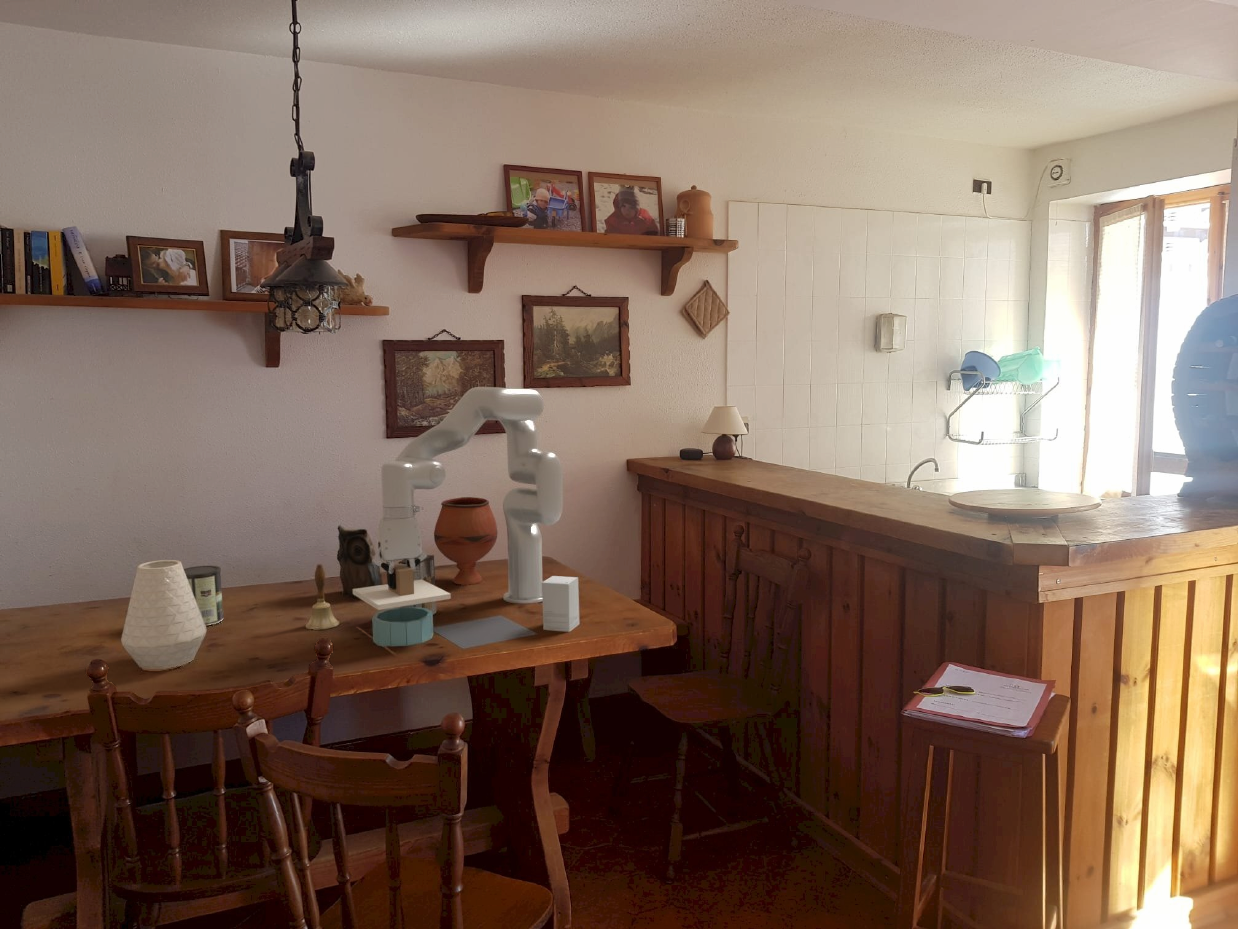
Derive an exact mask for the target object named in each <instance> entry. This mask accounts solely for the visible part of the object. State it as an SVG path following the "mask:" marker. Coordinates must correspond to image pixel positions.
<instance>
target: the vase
mask: <svg viewBox="0 0 1238 929" xmlns="http://www.w3.org/2000/svg"><path fill="white" fill-rule="evenodd" d="M184 569H185V568H184V567H183V564H182V561H180V560H176V559H162V560H153V561H148V562H147V561H146V562H144V563H141V564H139V565H137V568H136V574H135V578H134V581H133V582H134V583H133V587H132V590H131V595H130V599H129V603H128V608H127V612H126V616H125V617H126V618H125V621H124V626H123V631H122V634H121V639H120V641H121V644H122V646H123V647H124V649H125V650H126V651H127V653H128V654H129V655H130V656H131V658H132V659H133V660H134V662H135V664H136V665H137V666H138V667H139V668H140V667H142V668H145V669H167V668H171V667H176V666H181V665H183V664H186V663H188V662H191V661H192V660H193V661H194V659H195V656H196V655H197V653H198V650H199V648H200V647H201V644H202V643H203V641H204V638H205V637H206V635H207V631H208V629H207V627H206V626H205V623H204V621H203V618H202V616H201V613H200V610H199V608H198V605H197V603H196V600H195V597H194V595H193V592H192V590H191V587H190V584H189V582H188V579H187V577H186V574H185V571H184ZM193 661H192V662H193ZM192 662H191V663H192Z"/></svg>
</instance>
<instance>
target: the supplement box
mask: <svg viewBox="0 0 1238 929" xmlns="http://www.w3.org/2000/svg"><path fill="white" fill-rule="evenodd" d="M543 581H544V582H542V602H541V603H542V622H543V623H542V624H543V628H542V629H543V631H544V630H546V631H555V632H565V633H566V632H568V633H569V632H571V631H572V630H574V629H575V628H577V627H578V626H579V625H580V600H579V594H580V590H579V577H575V576H560V575H559V576H558V575H551V576H550V577H549V578H547V579H545V580H543Z"/></svg>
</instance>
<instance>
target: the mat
mask: <svg viewBox="0 0 1238 929" xmlns="http://www.w3.org/2000/svg"><path fill="white" fill-rule="evenodd" d="M433 633H436V634H438V635H439V636H440V637H443V638H445V639H446V640H447V641H449V642H450V643H452V644H454V645H455V646H457V647H459V648H460V649H462V650H465V649H470V648H474V647H475V648H476V647H479V646H480V647H481V646H485V645H489V644H495V643H500V642H505V641H511V640H515V639H520V638H524V637H530V636H536V635H538V633H536V632H535V631H533V630H530V629H529V628H527V627H524V626H522V625H521V624H519V623H517V622H515V621H513V620H511V619H509V618H506V617H505V616H503V615H495V616H489V617H484V618H478V619H473V620H468V621H467V620H466V621H463V622H455V623H451V624H445V625H441V626H435V627H434V626H433Z"/></svg>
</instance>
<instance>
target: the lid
mask: <svg viewBox="0 0 1238 929" xmlns="http://www.w3.org/2000/svg"><path fill="white" fill-rule="evenodd" d="M394 573H395V574H396V589H394V590H393V589H391V588H390V587H389V586H388V584H387V583H386V584H382V585H378V586H371V587H364V588H357V589H353V594H354V595H355V596H357V597H358V598H357V599H360V600H361V601H363V602H364V603H366V604H368V605H370V606H371V607H373V608H374V609H376V610H377V611H383V610H386V609H392V608H398V607H401V606H407V605H414V604H420V603H427V602H433V601H436V602H438V601H444V600H450V599H452V596H451V595H452V594H451V593H450V592H448V591H446V590H444V589H442V588H440V587H438V586H436V585H435V586H434V585H432V584H430V583H428V582H426V581H424V580H422V579H421V580H414V571H413V569H412V568H409V567H407V566H405V565H403V564H398V563H394Z"/></svg>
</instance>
